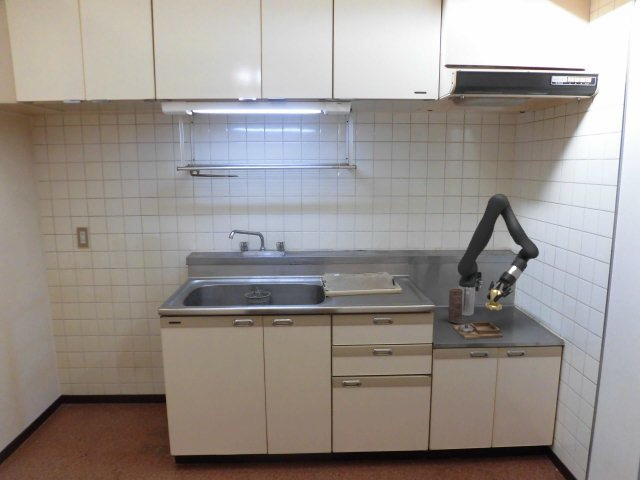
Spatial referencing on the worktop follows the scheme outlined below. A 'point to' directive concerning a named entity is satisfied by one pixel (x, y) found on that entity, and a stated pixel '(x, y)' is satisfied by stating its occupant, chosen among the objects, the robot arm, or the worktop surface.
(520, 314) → the worktop surface
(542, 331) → the worktop surface
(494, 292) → the gear shaft
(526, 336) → the worktop surface
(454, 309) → the candle
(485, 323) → the gear board
